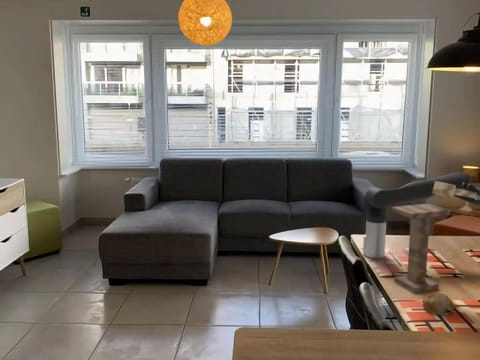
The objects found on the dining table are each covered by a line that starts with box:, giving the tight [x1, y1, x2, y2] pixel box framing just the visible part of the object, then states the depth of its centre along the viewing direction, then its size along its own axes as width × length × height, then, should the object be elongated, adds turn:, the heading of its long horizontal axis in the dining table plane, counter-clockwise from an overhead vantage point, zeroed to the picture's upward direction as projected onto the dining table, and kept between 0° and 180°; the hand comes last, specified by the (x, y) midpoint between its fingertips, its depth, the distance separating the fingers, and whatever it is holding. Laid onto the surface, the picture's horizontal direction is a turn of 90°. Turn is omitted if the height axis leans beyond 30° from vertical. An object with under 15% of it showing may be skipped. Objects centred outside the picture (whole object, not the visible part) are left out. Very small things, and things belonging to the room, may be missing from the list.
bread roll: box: [421, 292, 455, 316], centre depth 169 cm, size 10×10×8 cm
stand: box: [391, 203, 451, 294], centre depth 189 cm, size 18×12×32 cm, turn 109°
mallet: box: [432, 181, 479, 199], centre depth 191 cm, size 24×5×5 cm, turn 109°
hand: (465, 185), depth 191 cm, fingers closed on mallet, 2 cm apart
